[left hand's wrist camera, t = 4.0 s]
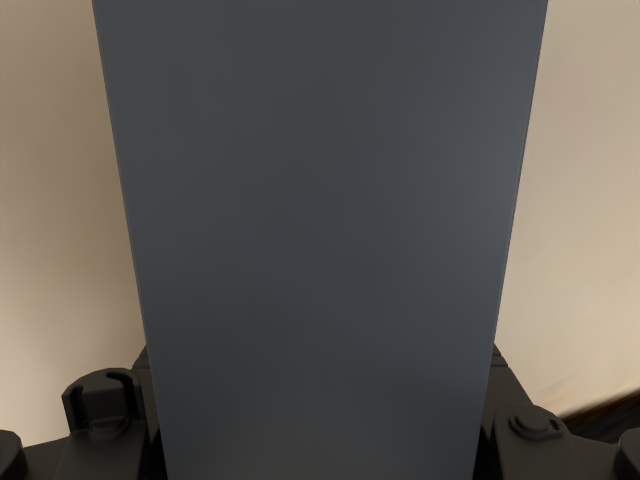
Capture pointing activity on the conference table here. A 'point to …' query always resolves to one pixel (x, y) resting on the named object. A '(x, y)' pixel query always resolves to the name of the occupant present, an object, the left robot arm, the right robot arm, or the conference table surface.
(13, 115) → the conference table surface
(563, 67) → the conference table surface
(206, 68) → the bar
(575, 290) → the conference table surface
